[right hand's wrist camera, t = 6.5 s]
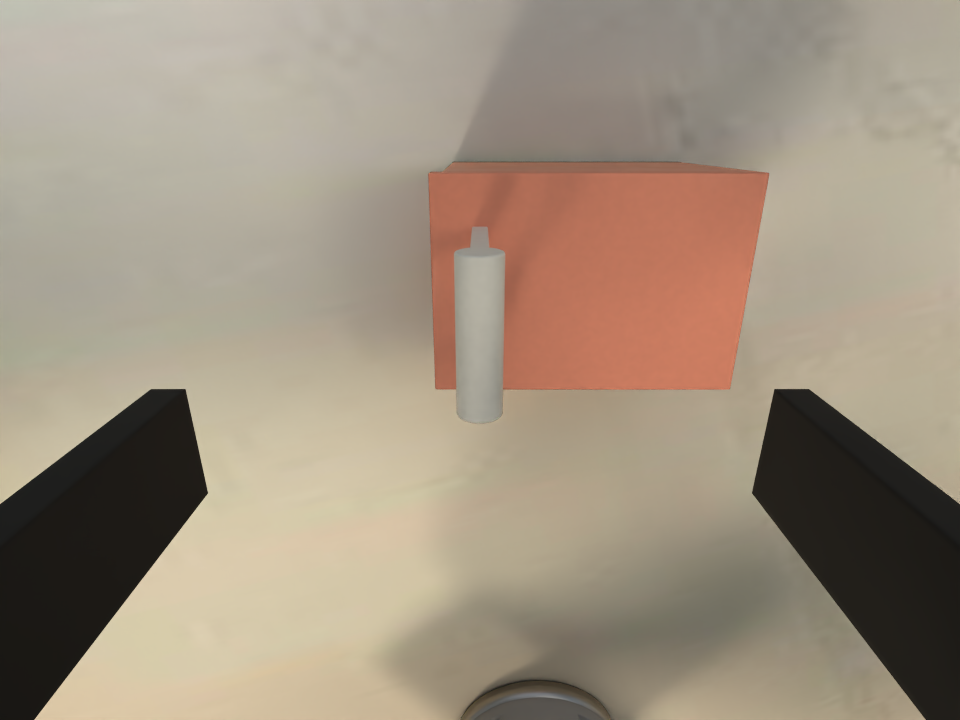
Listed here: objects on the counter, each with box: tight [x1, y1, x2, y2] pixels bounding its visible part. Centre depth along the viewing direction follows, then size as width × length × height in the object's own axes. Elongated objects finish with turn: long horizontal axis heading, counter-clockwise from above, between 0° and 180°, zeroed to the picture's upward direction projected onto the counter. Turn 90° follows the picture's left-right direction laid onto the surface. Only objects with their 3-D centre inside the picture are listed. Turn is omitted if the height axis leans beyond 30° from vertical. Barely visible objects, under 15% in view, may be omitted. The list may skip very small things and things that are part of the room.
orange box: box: [428, 172, 769, 424], centre depth 23 cm, size 15×10×8 cm
